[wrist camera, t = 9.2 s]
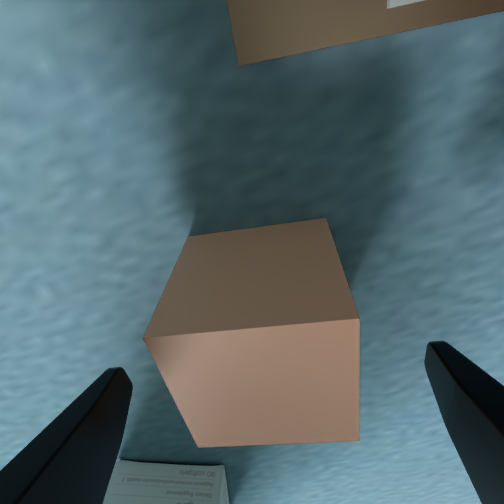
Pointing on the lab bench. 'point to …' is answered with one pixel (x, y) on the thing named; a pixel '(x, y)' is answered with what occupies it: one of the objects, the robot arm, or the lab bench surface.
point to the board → (335, 22)
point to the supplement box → (166, 484)
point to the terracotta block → (260, 338)
